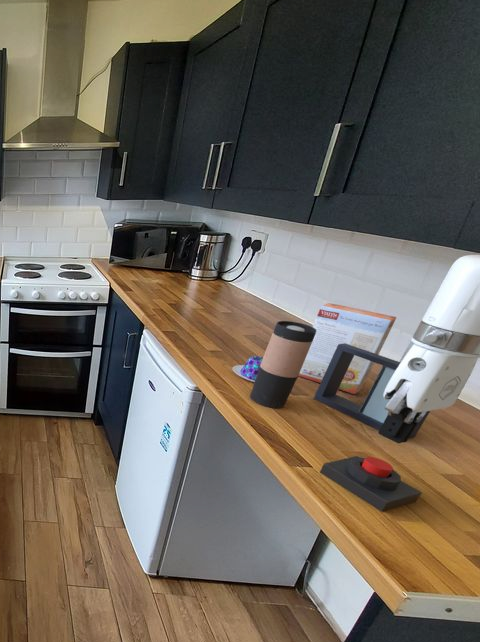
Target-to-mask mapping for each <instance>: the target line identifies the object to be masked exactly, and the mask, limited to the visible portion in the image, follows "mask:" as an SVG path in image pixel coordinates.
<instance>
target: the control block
mask: <svg viewBox="0 0 480 642" xmlns="http://www.w3.org/2000/svg"><path fill="white" fill-rule="evenodd" d="M365 458H366V457H361V456H357V455H355V456H351V457H346V458H342V459H338V460H333V461H329V462H325V463H323V464H322V467H321V469H320V470H319V474H321V475H323V476H324V477H326V478H328V479H329V480H331V481H332V482H333V483H334V484H337V485H338V486H339V487H342V488H343V489H344V490H346V491H347V492H350V493H351V494H353V495H354V496H356V497H357V498H359V499H360V500H362V501H364V502H365V503H366V504H369V505H370V506H372V507H373V508H375V509H376V510H378V511H380V512H381V513H383V512H386V511H389V510H393V509H396V508H400V507H403V506H406V505H410V504H413V503H416V502H417V501H418V500H419V498H420V496H421V495H422V494H423V492H422V491H421V490H419V489H418V488H415V487H413V486H412V485H410V484H409V483H406V482H404V481H403V480H402V477H401V475H400V474H399V472H397V471H396V470H394V469H393V470H392V472H391V473H390V475H389V477H387V478H385V477H379V476H377V475H374V474H371V473H370V472H368V471H366V470H364V469H363V468H362V467H361V465H362V464H363V462H364V460H365Z"/></svg>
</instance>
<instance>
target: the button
mask: <svg viewBox="0 0 480 642" xmlns="http://www.w3.org/2000/svg"><path fill="white" fill-rule="evenodd" d="M364 458H365V460H364V462H363V464H362V465H361V467H362V468H363V469H364V470H366V471H368V472H370V473H371V474H374V475H377V476H379V477H385V478H387V477H389V475H390V473H391V472H392V470H394V467H393V466H392V465H391V464H390V463H389V462H387V461H385V460H383V459H380V458H378V457H374V456H366V457H364Z"/></svg>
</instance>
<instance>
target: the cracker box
mask: <svg viewBox="0 0 480 642" xmlns="http://www.w3.org/2000/svg"><path fill="white" fill-rule="evenodd" d="M396 320H397V316H393V315H389V314H384V313H379V312H374V311H370V310H366V309H360V308H355V307H351V306H345V305H341V304H335V303H331V302H328V303H325V304H323V305H321V306H320V308H319V310H318V313H317V316H316V317H315V320H314V323H313V324H312V327H313V328H315V329H316V334H315V337H314V339H313V341H312V344H311V346H310V349H309V351H308V354H307V356H306V358H305V361H304V363H303V366H302V368H301V371H300V373H299V375H298V377H301V378H304V379H306V380H310V381H313V382H316V383H319V384H320V383H321V381H322V379H323V377H324V374H325V372H326V370H327V368H328V366H329V363H330V361H331V359H332V357H333V355H334V353H335V350H336V348H337V346H338V344H345V343H346V344H349V345H352V346H354V347H357V348H360V349H363V350H366V351H369V352H372V353H375V354H378V355H380V352H381V350H382V348H383V346H384V345H385V343H386V341H387V338H388V337H389V334H390V332H391V330H392V328H393V326H394V324H395V322H396ZM375 364H376V363H375V362H372V361H369V360H366V359H364V358H361V357H358V356H355V355H354V357H353V359H352V361H351V363H350V365H349V368H348V370H347V372H346V374H345V376H344V378H343V380H342V382H341V384H340V386H339V388H338V391H339V390H340V391H343V392H345V393H348V394H352V395H356V394H357V393H359V392H360V391H361V390H362V389H363V387H364V385H365V383H366V381H367V379H368V377H369V375H370V373H371V371H372V369H373V367H374V365H375Z"/></svg>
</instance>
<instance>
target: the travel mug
mask: <svg viewBox="0 0 480 642" xmlns="http://www.w3.org/2000/svg"><path fill="white" fill-rule="evenodd" d="M315 334H316V329H315V328H313V326H311V325H310V324H309V325H308V324H306V323H301V322H297V321H291V320H280V321H277V322H276V324H275V327H274V329H273V332H272V333H271V337H270V338H269V342H268V343H267V347H266V349H265V352H264V355H263V356H262V357H263V359H262V362H261V364H260V367H259V370H258V373H257V376H256V379H255V382H253V385H252V389H251V391H250V395H249V398H250V400H251V401H253V402H254V403H255V404H257V405H260V406H262V407H266V408H270V409H282V408H284V407H285V405H286V403H287V401H288V399H289V397H290V394H291V393H292V390H293V388H294V386H295V384H296V381H297V380H298V377H299V376H298V375H299V373H300V371H301V368H302V366H303V363H304V361H305V358H306V356H307V354H308V351H309V349H310V346H311V344H312V341H313V339H314V337H315Z"/></svg>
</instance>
